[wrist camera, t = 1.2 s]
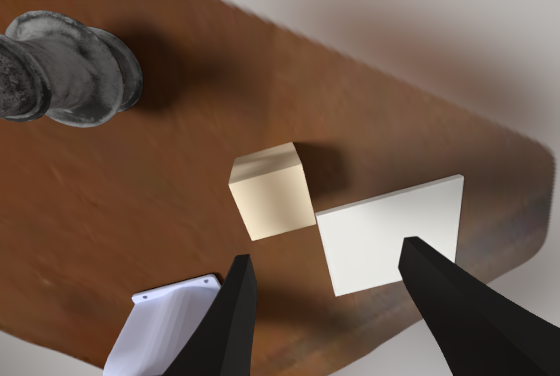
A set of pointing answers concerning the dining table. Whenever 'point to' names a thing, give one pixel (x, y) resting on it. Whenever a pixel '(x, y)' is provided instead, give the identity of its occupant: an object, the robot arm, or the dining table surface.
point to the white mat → (388, 232)
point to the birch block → (271, 191)
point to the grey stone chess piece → (65, 71)
